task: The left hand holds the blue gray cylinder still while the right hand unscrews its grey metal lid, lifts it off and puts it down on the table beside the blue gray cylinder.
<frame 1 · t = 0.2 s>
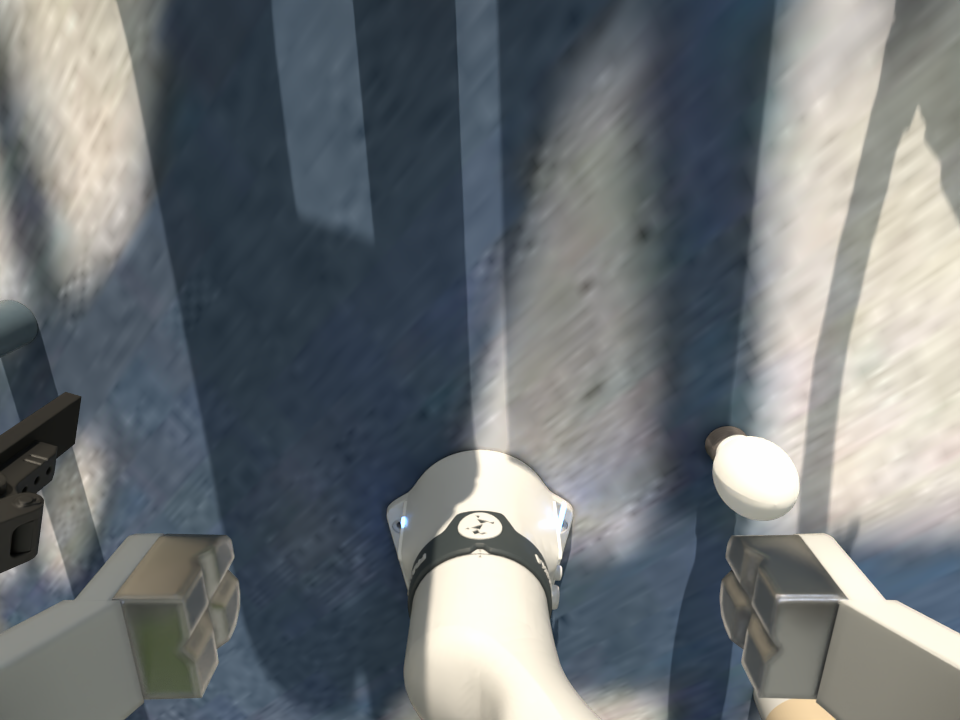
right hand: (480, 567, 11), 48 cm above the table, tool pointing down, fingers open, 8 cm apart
blue gray cylinder: (13, 322, 59), on the table
light bulb: (726, 440, 64), on the table
coffee cup: (782, 689, 75), on the table
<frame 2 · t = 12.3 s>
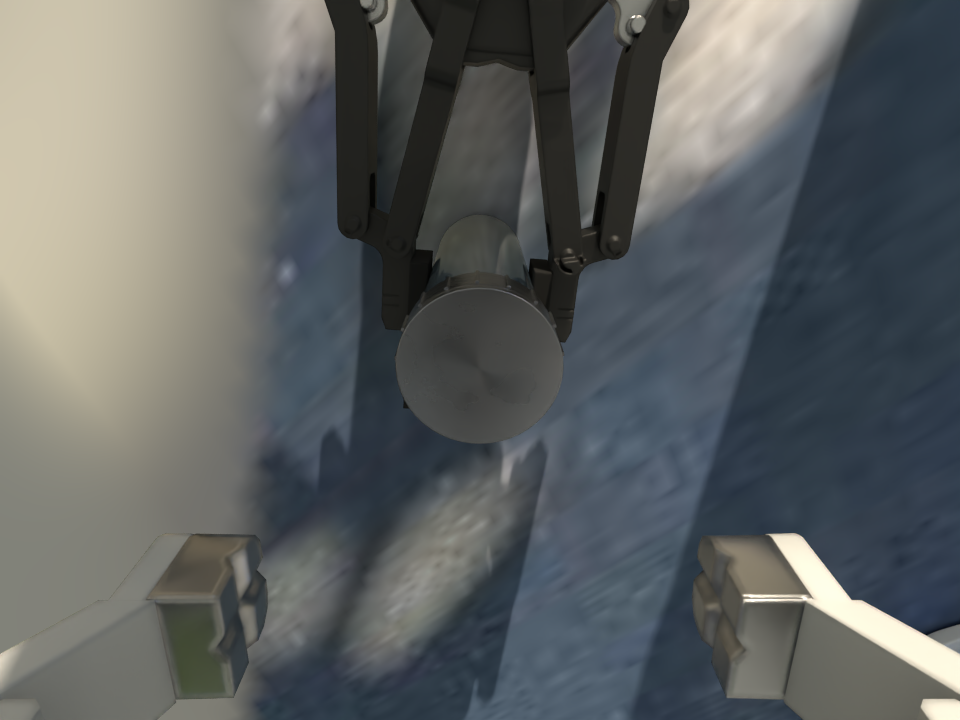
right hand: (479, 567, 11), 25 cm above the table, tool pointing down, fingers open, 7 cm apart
left hand: (470, 399, 30), fingers closed on blue gray cylinder, 4 cm apart
blue gray cylinder: (479, 256, 34), on the table, touching left hand
lid: (479, 365, 19), point 16 cm above the table, screwed on, not yet turned
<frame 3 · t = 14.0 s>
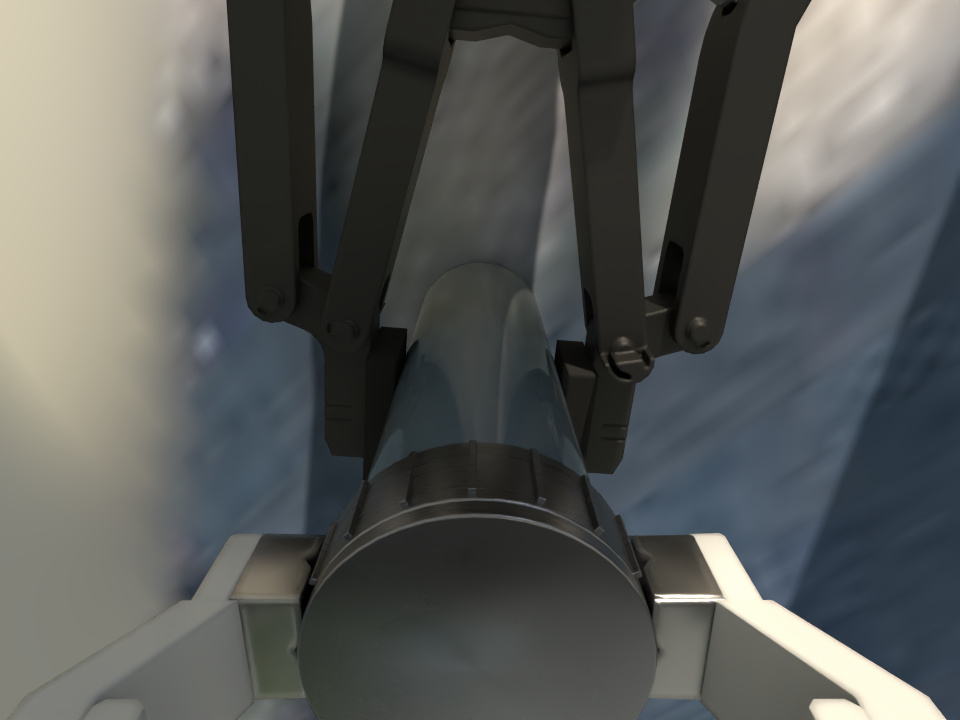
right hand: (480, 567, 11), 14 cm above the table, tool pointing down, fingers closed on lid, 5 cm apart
blue gray cylinder: (479, 320, 24), on the table, touching left hand
lid: (477, 648, 9), point 16 cm above the table, screwed on, not yet turned, touching right hand
when the right hand's fingers open (14 cm above the table, at t = 15.3 s): lid stays where it is, point 16 cm above the table.
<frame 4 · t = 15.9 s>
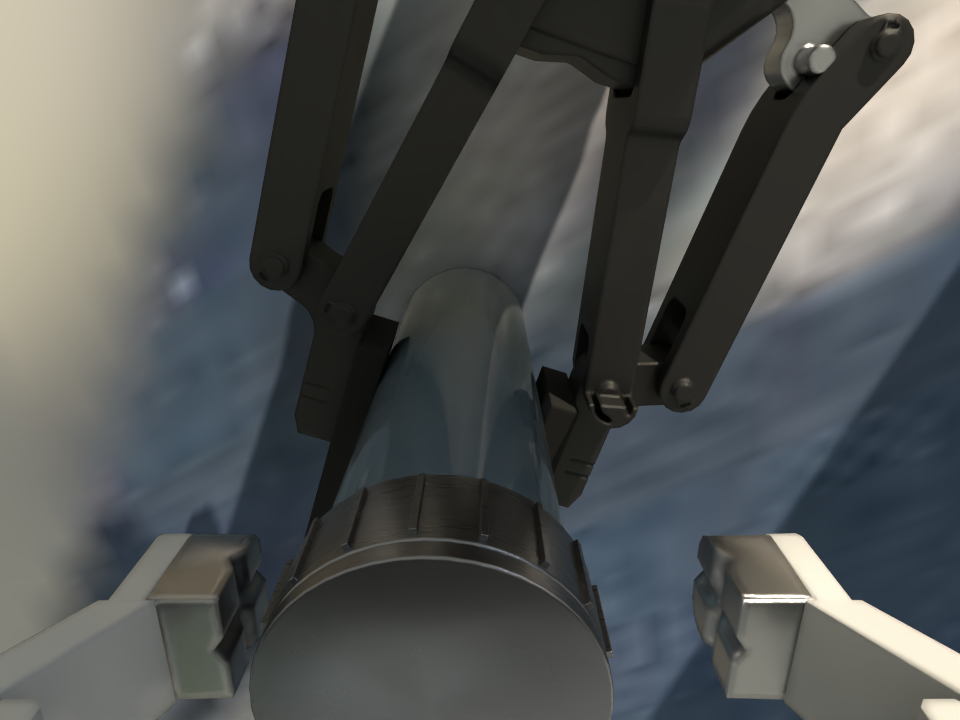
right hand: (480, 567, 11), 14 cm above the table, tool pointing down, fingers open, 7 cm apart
left hand: (406, 550, 20), fingers closed on blue gray cylinder, 4 cm apart
blue gray cylinder: (464, 325, 24), on the table, touching left hand
lid: (433, 685, 9), point 16 cm above the table, turned 59° so far, risen 0.1 cm, still on its thread
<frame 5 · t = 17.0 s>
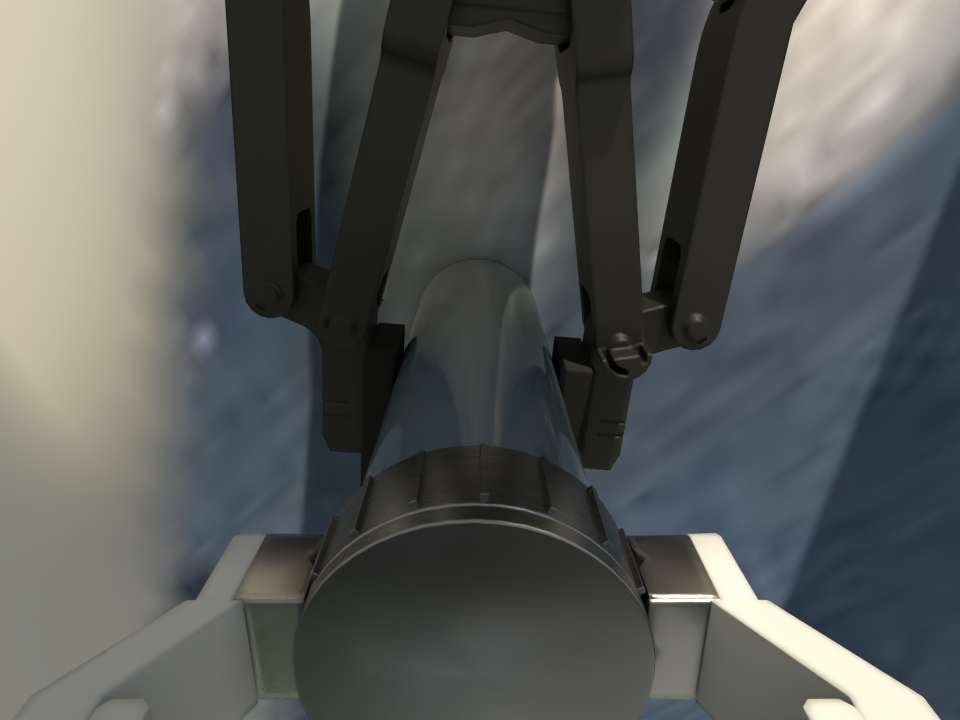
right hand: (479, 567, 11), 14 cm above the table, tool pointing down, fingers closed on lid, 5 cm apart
blue gray cylinder: (477, 317, 24), on the table, touching left hand
lid: (474, 654, 9), point 16 cm above the table, turned 59° so far, risen 0.1 cm, still on its thread, touching right hand
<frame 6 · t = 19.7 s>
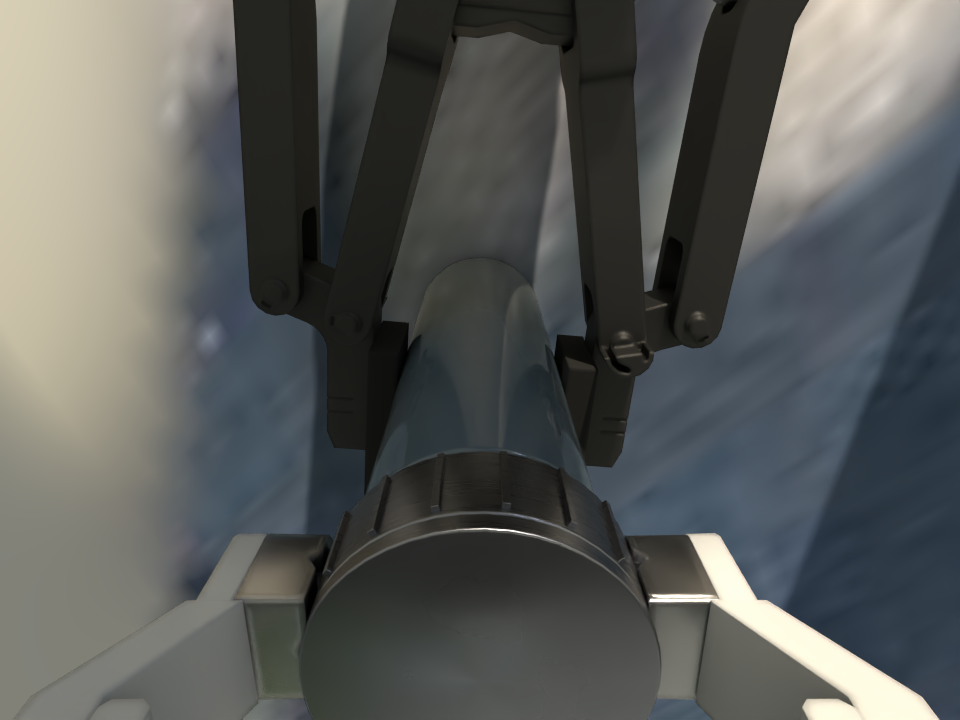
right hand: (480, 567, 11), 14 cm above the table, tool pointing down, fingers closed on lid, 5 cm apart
blue gray cylinder: (479, 315, 24), on the table, touching left hand
lid: (480, 660, 9), point 16 cm above the table, turned 118° so far, risen 0.3 cm, still on its thread, touching right hand
when the right hand's fingers open (2 cm above the table, at t = 26.0 s): lid drops 2 cm, point 2 cm above the table.
when the left hand's fingers open (6 cm above the table, at t = 26.9 s): blue gray cylinder stays where it is, on the table.
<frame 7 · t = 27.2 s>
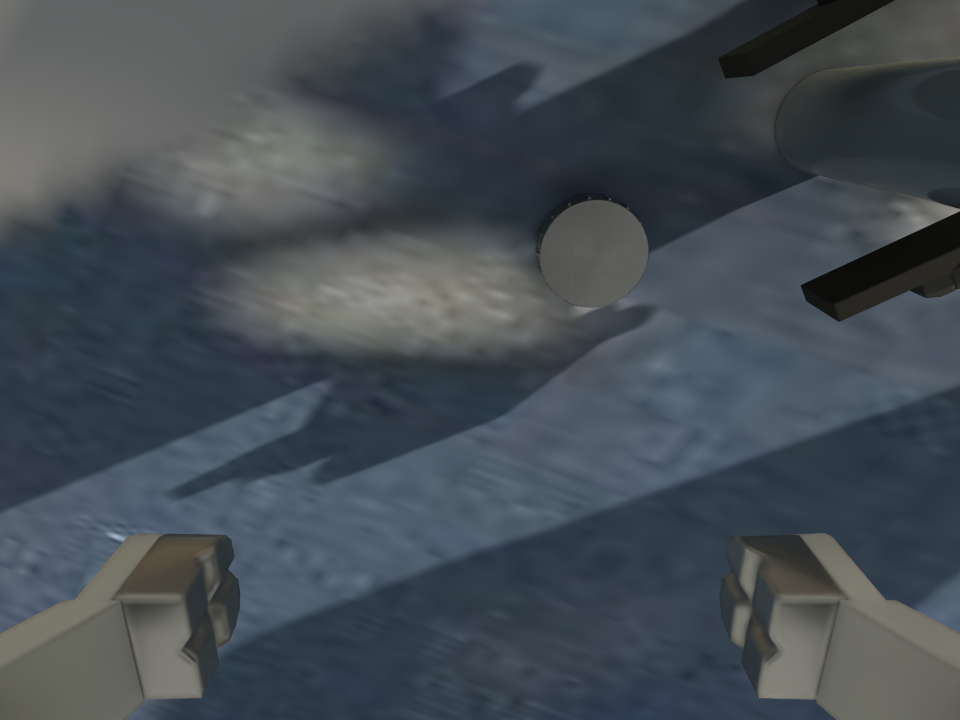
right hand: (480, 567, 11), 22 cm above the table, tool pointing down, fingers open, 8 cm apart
blue gray cylinder: (824, 122, 29), on the table
lid: (593, 253, 30), point 2 cm above the table, off its thread
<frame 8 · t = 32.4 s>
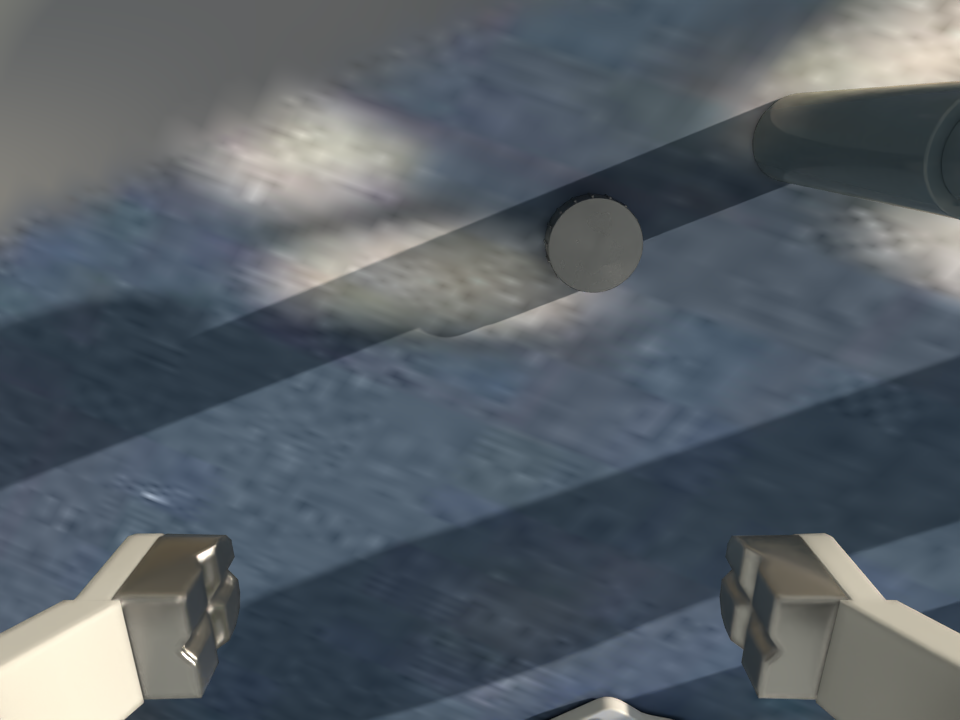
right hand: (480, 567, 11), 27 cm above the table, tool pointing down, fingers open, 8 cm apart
blue gray cylinder: (794, 138, 34), on the table
lid: (594, 245, 34), point 2 cm above the table, off its thread
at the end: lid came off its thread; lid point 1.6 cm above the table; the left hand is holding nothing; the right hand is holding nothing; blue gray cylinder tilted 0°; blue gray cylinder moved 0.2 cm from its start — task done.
